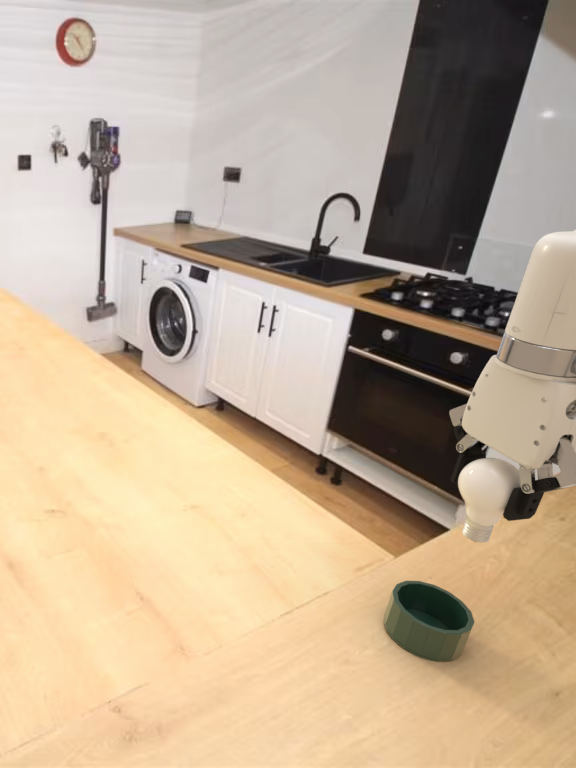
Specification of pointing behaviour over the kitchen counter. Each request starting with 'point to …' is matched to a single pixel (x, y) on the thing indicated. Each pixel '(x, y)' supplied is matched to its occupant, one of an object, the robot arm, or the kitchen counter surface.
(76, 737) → the kitchen counter surface
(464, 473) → the lightbulb
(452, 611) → the bowl
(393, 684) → the kitchen counter surface
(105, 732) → the kitchen counter surface
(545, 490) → the robot arm
